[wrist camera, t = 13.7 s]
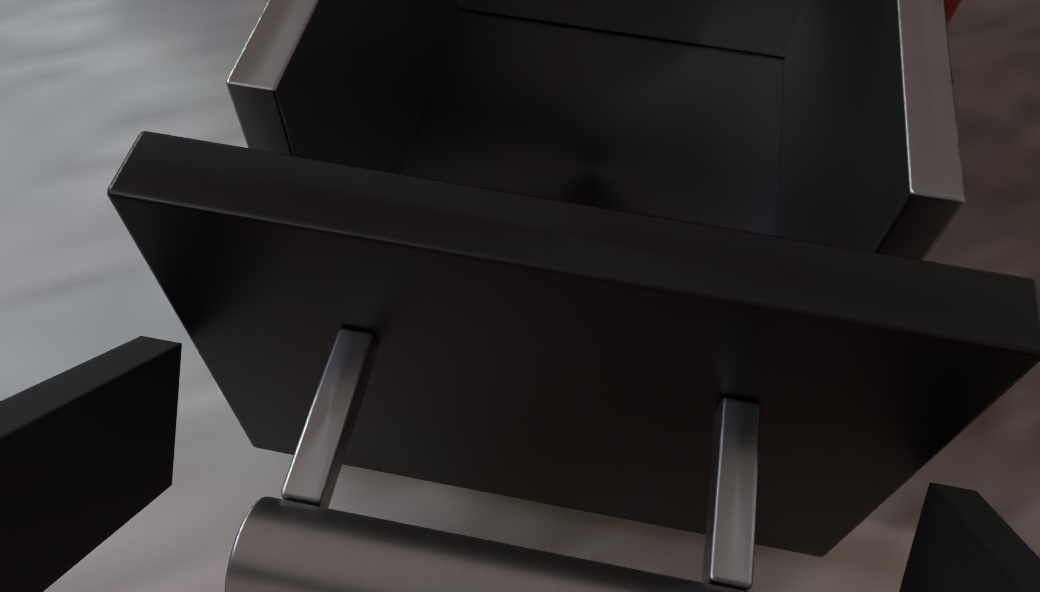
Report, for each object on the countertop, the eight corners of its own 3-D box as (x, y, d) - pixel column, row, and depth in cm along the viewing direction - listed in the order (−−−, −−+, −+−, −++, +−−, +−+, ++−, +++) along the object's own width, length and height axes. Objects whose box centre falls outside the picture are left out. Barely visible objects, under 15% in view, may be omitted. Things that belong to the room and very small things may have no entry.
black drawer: (822, 797, 16) (1111, 746, 9) (172, 657, 17) (-77, 503, 9) (825, 76, 26) (958, -235, 19) (417, 14, 27) (389, -305, 20)
